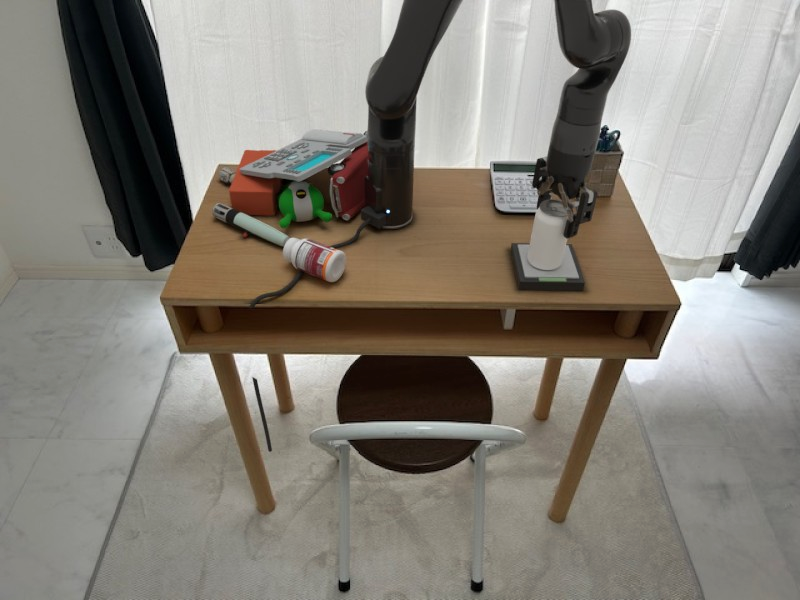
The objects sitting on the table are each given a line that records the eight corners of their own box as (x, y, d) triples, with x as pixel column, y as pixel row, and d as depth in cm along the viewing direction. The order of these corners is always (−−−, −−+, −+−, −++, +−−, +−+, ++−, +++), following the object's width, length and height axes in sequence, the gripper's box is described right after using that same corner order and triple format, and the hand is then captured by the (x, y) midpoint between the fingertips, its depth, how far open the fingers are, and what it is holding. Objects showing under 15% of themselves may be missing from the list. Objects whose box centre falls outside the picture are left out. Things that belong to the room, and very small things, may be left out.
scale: (518, 289, 115) (520, 279, 113) (510, 250, 124) (511, 241, 122) (582, 290, 115) (585, 280, 113) (569, 251, 124) (572, 242, 122)
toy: (319, 170, 136) (328, 183, 122) (324, 207, 139) (333, 224, 125) (269, 177, 134) (273, 190, 120) (275, 214, 137) (280, 232, 123)
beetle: (249, 170, 140) (250, 181, 142) (222, 162, 141) (224, 174, 144) (240, 179, 137) (242, 191, 140) (213, 172, 139) (215, 183, 141)
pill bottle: (346, 275, 118) (300, 256, 122) (348, 246, 114) (300, 228, 119) (327, 288, 113) (279, 269, 117) (329, 259, 110) (280, 240, 114)
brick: (228, 190, 127) (232, 215, 131) (272, 191, 127) (275, 216, 131) (244, 149, 141) (248, 172, 145) (284, 150, 141) (286, 173, 145)
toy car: (319, 173, 124) (363, 179, 121) (371, 123, 142) (412, 127, 138) (327, 220, 131) (369, 227, 127) (376, 166, 149) (415, 171, 145)
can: (561, 274, 115) (574, 220, 107) (526, 269, 115) (536, 215, 108) (561, 253, 119) (573, 200, 111) (527, 248, 120) (537, 195, 112)
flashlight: (284, 258, 123) (212, 223, 130) (296, 240, 124) (224, 207, 132) (278, 250, 120) (204, 215, 128) (290, 232, 121) (216, 198, 129)
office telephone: (317, 123, 144) (376, 128, 130) (320, 134, 145) (379, 140, 132) (236, 162, 131) (292, 172, 118) (240, 174, 133) (296, 185, 119)
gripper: (529, 128, 105) (515, 209, 116) (582, 166, 95) (562, 251, 106) (565, 120, 107) (548, 200, 118) (620, 157, 98) (597, 240, 109)
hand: (555, 224), depth 112 cm, fingers open, 7 cm apart
